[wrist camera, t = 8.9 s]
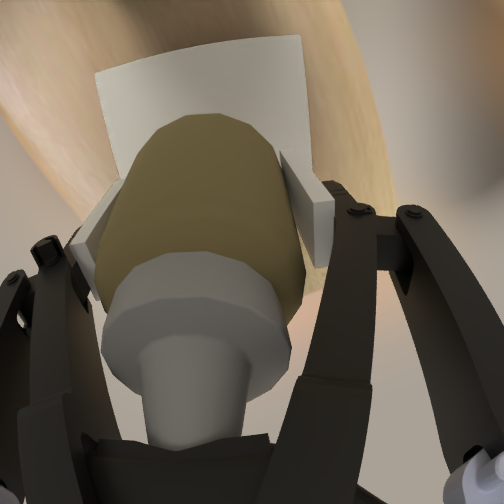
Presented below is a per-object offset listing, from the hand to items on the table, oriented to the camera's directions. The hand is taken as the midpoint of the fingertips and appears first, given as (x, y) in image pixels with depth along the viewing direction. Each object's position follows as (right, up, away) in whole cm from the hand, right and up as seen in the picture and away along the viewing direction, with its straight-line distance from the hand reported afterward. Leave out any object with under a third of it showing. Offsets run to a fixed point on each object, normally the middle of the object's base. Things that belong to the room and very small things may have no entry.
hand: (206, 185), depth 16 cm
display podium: (-1, +8, +11) cm, 14 cm away
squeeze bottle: (0, +2, +3) cm, 3 cm away
